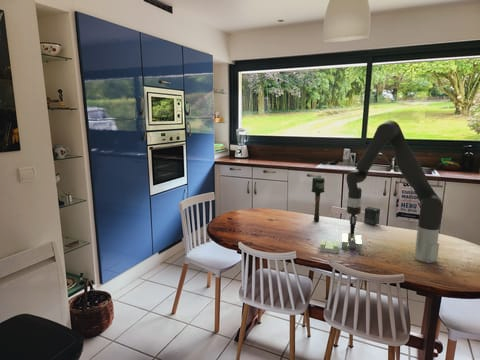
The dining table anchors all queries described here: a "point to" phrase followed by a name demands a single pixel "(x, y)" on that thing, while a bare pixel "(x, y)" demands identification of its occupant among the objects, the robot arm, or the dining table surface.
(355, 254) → the dining table surface
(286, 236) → the dining table surface
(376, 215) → the box
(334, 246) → the cradle
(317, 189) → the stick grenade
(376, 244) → the dining table surface
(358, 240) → the bore block
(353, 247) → the axle
